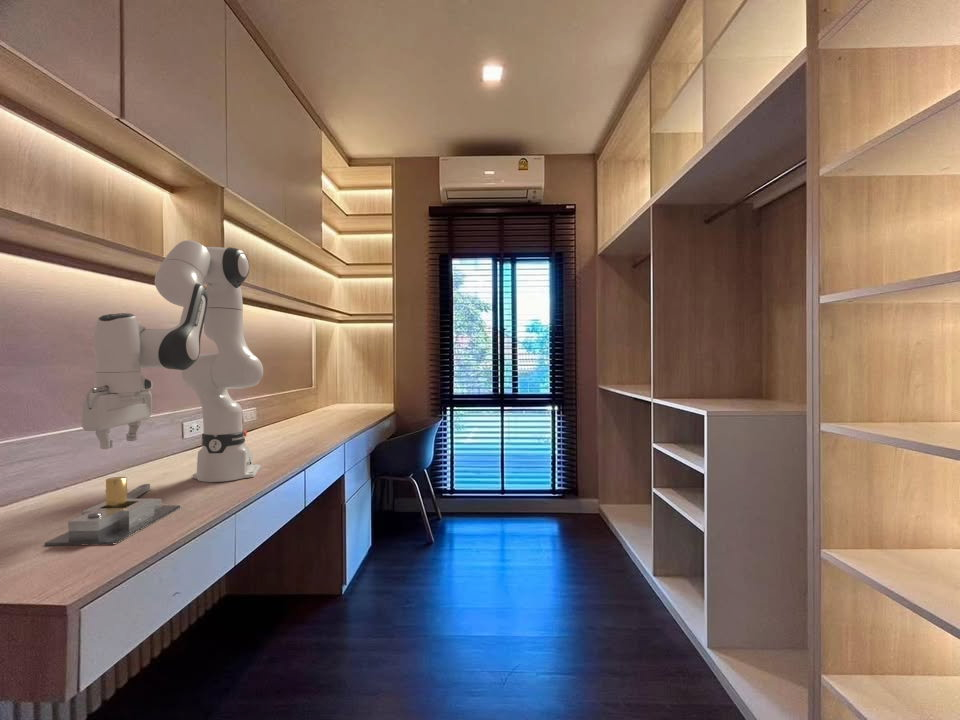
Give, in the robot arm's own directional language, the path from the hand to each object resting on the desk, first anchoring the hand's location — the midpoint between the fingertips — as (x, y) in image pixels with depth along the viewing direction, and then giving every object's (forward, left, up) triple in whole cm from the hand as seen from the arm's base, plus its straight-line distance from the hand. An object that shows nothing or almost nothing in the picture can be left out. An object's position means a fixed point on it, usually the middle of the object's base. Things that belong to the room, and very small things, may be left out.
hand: (119, 444), depth 123 cm
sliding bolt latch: (0, 0, -18) cm, 18 cm away
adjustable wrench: (-20, -9, -18) cm, 28 cm away
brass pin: (0, -1, -18) cm, 18 cm away
